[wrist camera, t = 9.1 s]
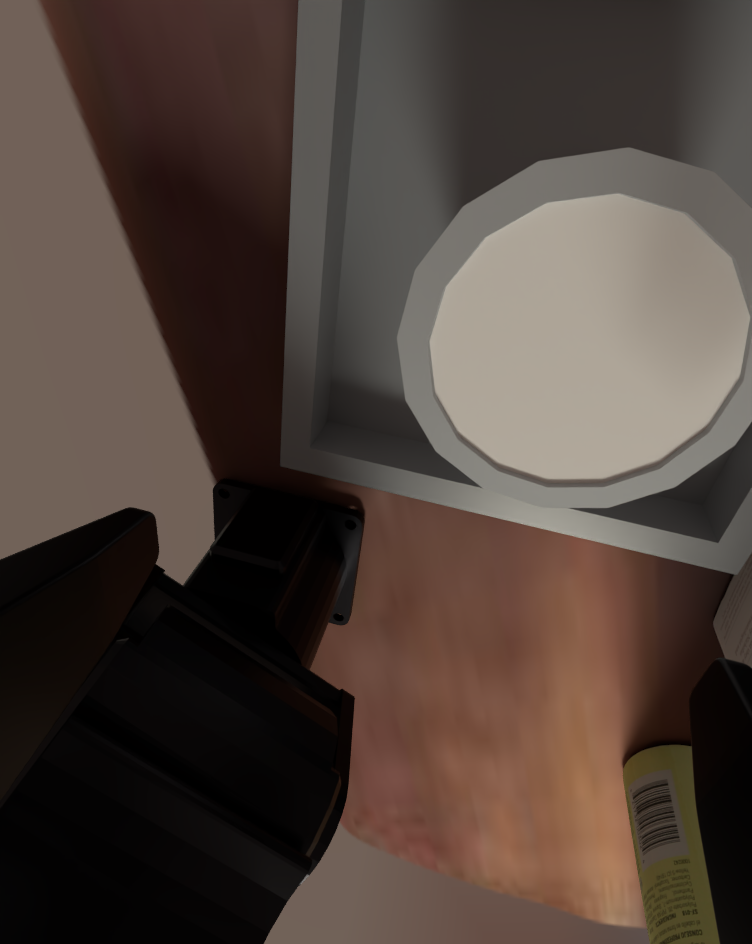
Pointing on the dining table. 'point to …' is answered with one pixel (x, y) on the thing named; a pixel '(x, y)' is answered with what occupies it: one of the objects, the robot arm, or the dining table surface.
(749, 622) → the supplement box
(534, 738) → the dining table surface
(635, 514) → the tray
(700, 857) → the tube
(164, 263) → the dining table surface
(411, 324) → the white cup
